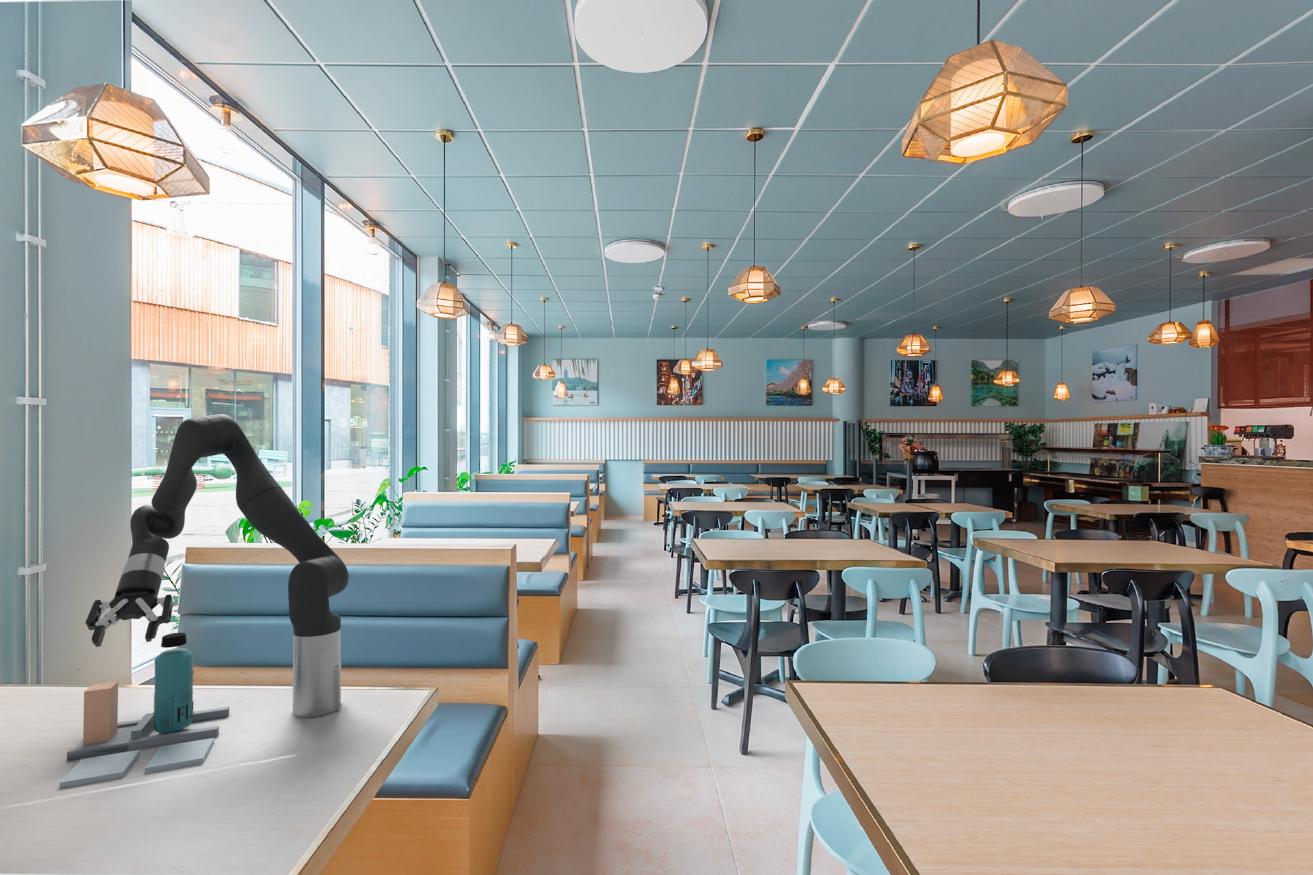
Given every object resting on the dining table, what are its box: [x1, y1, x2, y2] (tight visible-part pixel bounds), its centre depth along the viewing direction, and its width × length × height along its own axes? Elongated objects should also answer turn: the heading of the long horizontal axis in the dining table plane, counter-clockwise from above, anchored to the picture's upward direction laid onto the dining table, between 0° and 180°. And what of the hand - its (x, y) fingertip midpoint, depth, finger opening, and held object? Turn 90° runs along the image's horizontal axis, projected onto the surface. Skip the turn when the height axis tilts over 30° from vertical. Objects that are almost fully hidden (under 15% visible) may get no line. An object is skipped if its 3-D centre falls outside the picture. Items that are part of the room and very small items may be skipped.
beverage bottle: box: [152, 632, 195, 734], centre depth 127 cm, size 6×7×20 cm
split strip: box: [59, 737, 215, 789], centre depth 114 cm, size 20×9×1 cm, turn 115°
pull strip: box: [66, 681, 230, 761], centre depth 126 cm, size 23×12×11 cm, turn 115°
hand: (122, 642), depth 133 cm, fingers open, 8 cm apart
